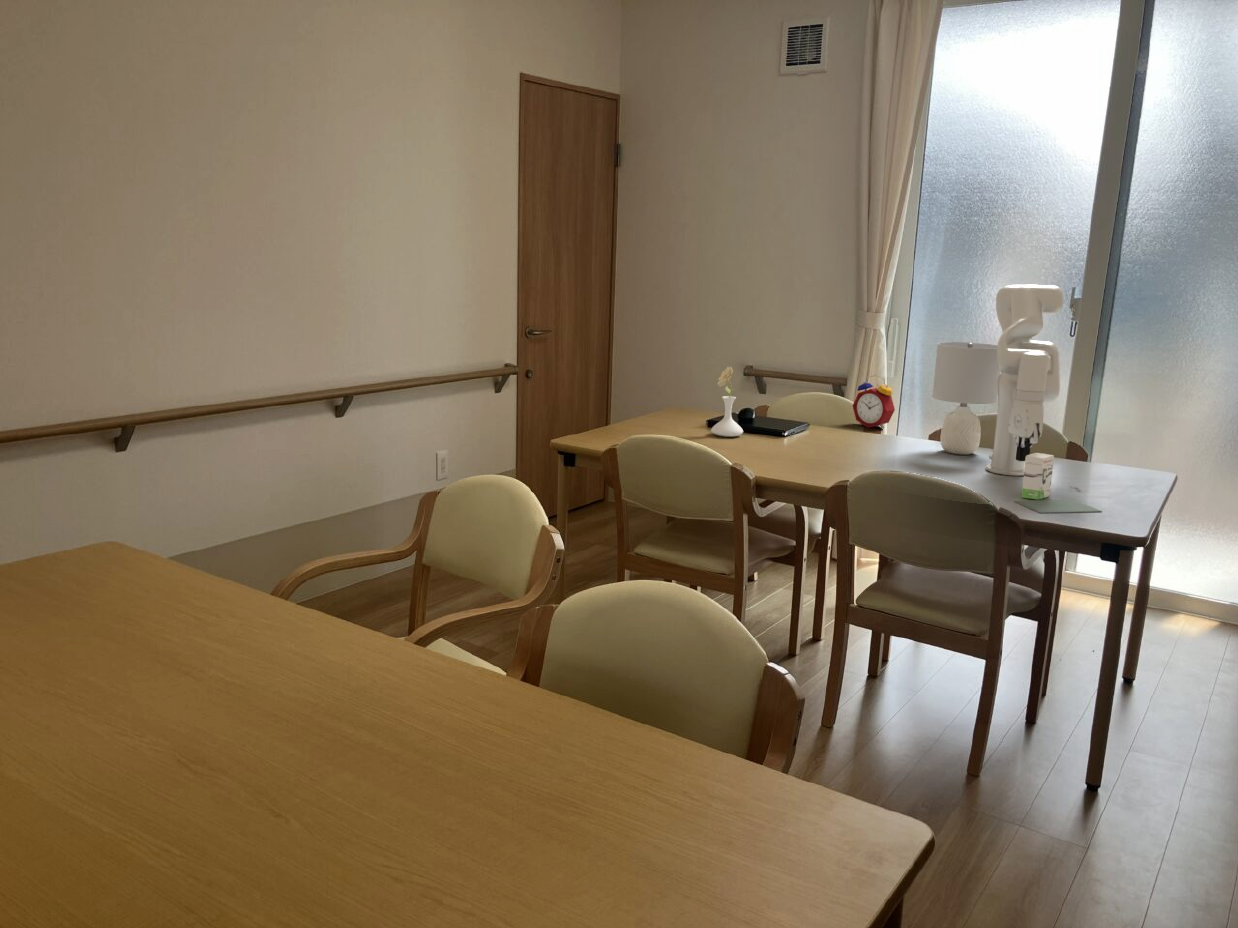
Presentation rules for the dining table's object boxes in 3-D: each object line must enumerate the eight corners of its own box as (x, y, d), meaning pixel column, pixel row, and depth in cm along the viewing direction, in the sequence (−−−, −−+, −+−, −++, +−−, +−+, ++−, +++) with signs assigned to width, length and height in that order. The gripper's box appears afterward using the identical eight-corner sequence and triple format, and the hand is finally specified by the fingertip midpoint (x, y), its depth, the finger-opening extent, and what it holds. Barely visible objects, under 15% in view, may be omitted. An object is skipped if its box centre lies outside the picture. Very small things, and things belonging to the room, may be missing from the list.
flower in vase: (711, 431, 359) (715, 362, 353) (743, 433, 357) (747, 364, 352) (709, 438, 346) (713, 367, 340) (742, 440, 344) (746, 368, 339)
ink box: (1038, 500, 272) (1043, 458, 269) (1020, 497, 275) (1024, 455, 273) (1050, 496, 278) (1054, 454, 276) (1032, 493, 281) (1036, 452, 279)
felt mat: (1014, 501, 271) (1014, 500, 271) (1073, 500, 274) (1073, 499, 274) (1039, 513, 259) (1039, 512, 259) (1101, 512, 263) (1101, 510, 263)
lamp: (1003, 457, 329) (1016, 346, 321) (953, 460, 322) (965, 346, 314) (963, 445, 347) (974, 340, 339) (914, 448, 340) (925, 340, 332)
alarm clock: (850, 424, 381) (854, 373, 377) (863, 422, 387) (867, 371, 383) (884, 430, 371) (888, 377, 366) (896, 428, 377) (901, 376, 372)
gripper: (1003, 392, 285) (995, 455, 289) (1033, 400, 271) (1025, 466, 275) (1026, 392, 286) (1019, 455, 290) (1057, 400, 272) (1049, 466, 276)
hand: (1022, 460), depth 282 cm, fingers closed
